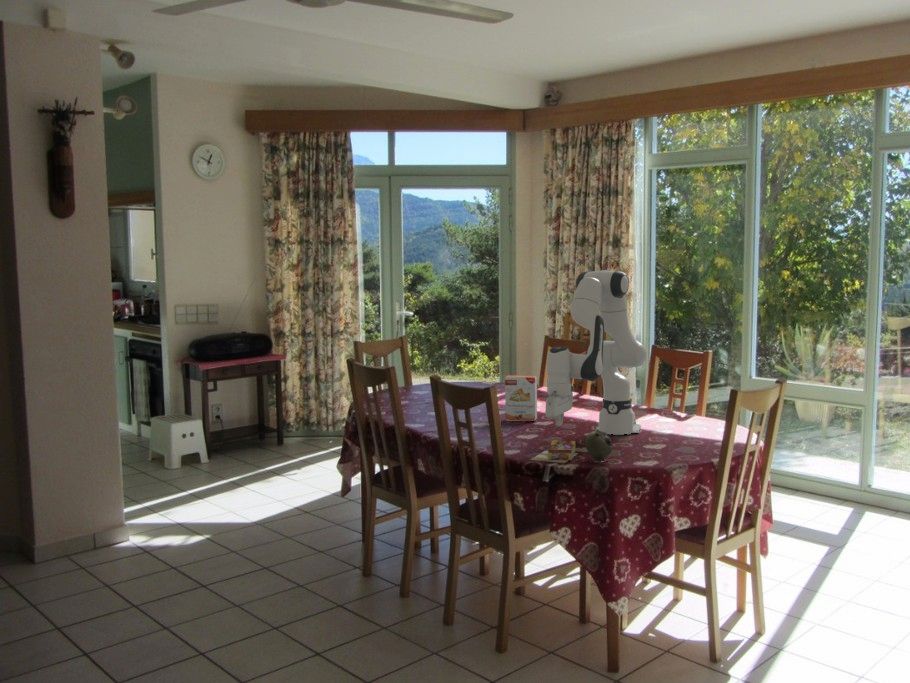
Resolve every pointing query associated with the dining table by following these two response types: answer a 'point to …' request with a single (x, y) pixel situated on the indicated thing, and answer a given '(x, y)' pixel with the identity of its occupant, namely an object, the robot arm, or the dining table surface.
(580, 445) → the dining table surface
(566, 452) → the candy box
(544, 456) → the pale wooden board
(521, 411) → the cracker box
